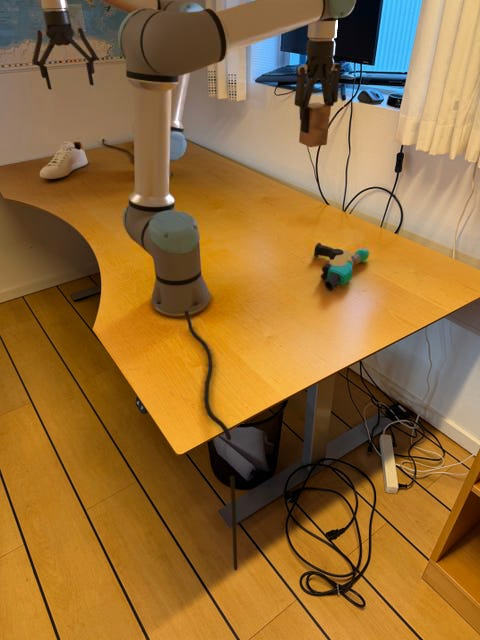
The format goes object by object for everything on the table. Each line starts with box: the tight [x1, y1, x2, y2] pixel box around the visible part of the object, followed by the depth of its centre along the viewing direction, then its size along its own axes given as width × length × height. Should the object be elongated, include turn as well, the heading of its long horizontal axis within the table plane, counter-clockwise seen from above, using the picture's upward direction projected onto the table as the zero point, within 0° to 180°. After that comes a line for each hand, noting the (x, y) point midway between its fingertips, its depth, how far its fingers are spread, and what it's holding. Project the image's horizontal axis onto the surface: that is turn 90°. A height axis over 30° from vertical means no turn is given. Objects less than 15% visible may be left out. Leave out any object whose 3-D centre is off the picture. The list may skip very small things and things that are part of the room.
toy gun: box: [313, 242, 370, 292], centre depth 136 cm, size 4×26×15 cm
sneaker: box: [39, 141, 89, 180], centre depth 207 cm, size 10×29×12 cm, turn 163°
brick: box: [298, 102, 331, 148], centre depth 139 cm, size 6×6×11 cm
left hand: (71, 86), depth 157 cm, fingers open, 13 cm apart
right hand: (313, 130), depth 139 cm, fingers closed on brick, 6 cm apart
